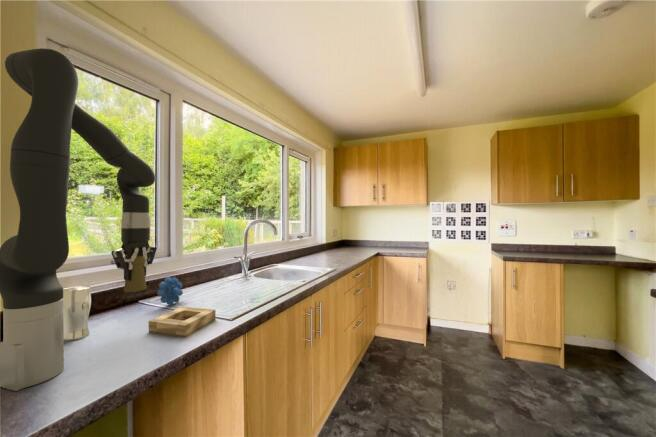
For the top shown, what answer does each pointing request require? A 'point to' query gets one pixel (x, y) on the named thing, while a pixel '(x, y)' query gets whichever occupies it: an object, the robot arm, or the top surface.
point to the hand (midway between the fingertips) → (135, 279)
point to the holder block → (182, 321)
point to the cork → (136, 276)
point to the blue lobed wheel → (170, 290)
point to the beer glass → (76, 312)
